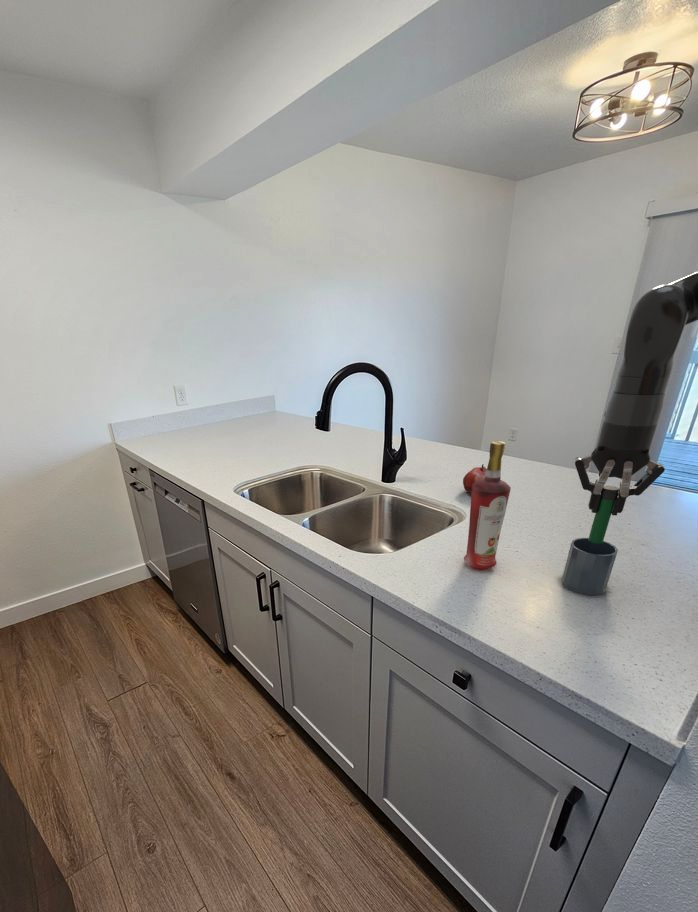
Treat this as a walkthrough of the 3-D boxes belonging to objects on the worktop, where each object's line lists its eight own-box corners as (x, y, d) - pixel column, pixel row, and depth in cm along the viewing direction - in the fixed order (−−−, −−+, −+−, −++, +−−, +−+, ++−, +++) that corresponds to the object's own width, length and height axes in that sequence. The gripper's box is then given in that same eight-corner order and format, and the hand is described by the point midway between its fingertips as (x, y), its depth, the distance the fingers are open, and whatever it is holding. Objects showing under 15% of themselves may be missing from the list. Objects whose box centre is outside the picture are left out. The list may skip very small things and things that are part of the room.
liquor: (484, 555, 102) (503, 437, 90) (503, 571, 95) (526, 445, 83) (455, 560, 101) (470, 440, 89) (472, 575, 94) (491, 449, 82)
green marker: (596, 537, 86) (611, 484, 81) (606, 543, 83) (623, 489, 78) (584, 538, 85) (598, 486, 81) (594, 544, 83) (609, 490, 78)
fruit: (460, 487, 143) (464, 458, 138) (491, 489, 140) (496, 458, 136) (462, 497, 135) (466, 466, 131) (495, 499, 132) (500, 467, 128)
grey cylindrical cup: (586, 573, 93) (597, 536, 89) (614, 593, 86) (627, 553, 82) (553, 577, 92) (562, 540, 88) (579, 597, 85) (590, 557, 81)
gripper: (582, 421, 74) (560, 514, 82) (687, 426, 68) (652, 526, 76) (582, 413, 80) (561, 501, 88) (678, 417, 74) (647, 511, 81)
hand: (603, 512), depth 82 cm, fingers closed on green marker, 2 cm apart
